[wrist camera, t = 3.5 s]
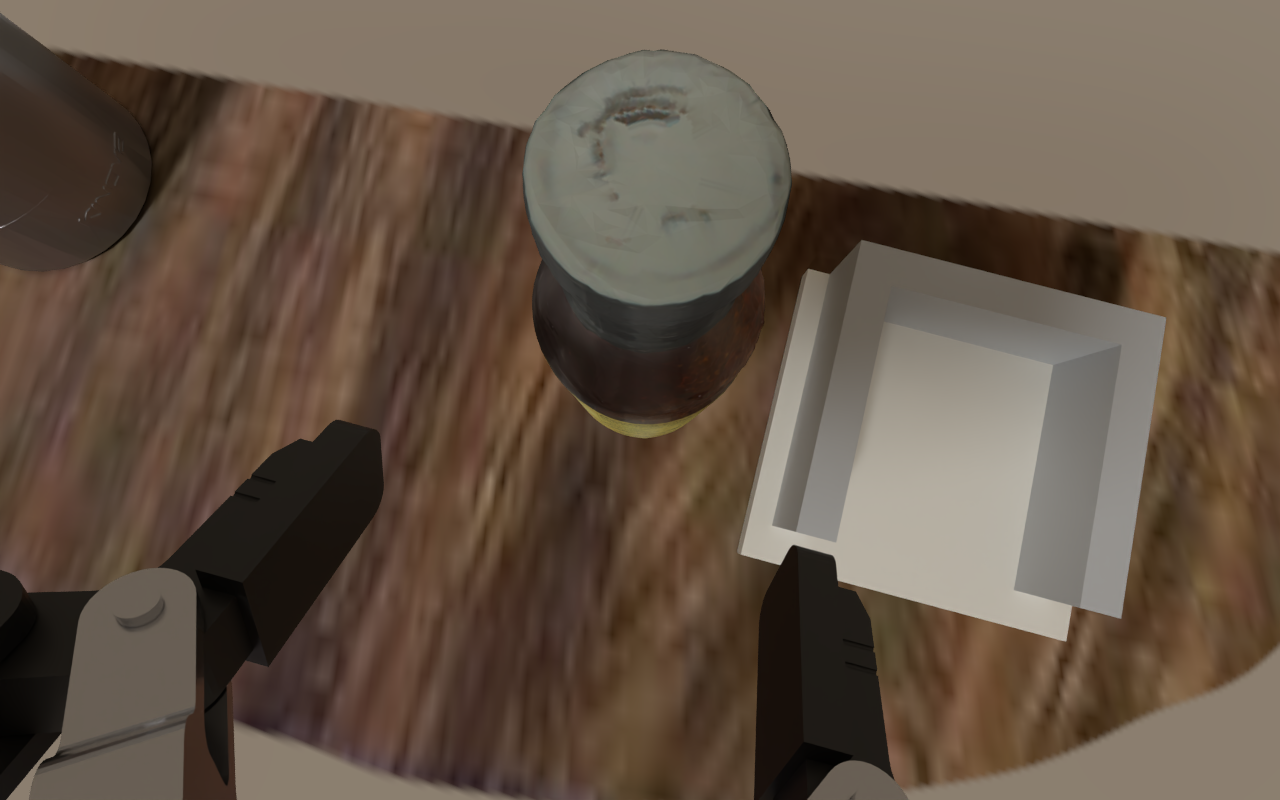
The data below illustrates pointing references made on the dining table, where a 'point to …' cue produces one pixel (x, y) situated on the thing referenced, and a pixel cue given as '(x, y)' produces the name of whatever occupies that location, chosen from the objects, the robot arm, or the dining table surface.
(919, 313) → the white open tray
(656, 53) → the sauce bottle
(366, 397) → the dining table surface
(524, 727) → the dining table surface
